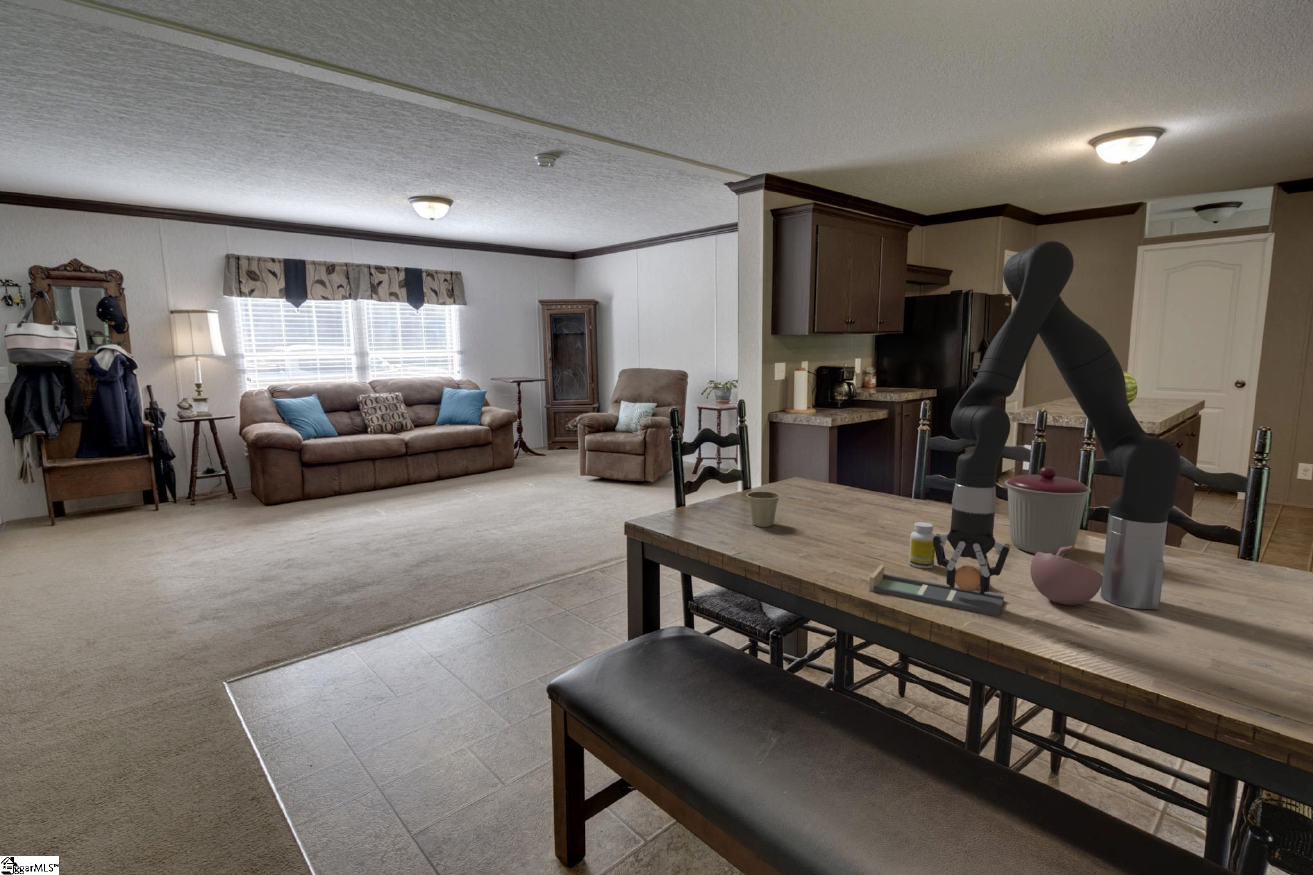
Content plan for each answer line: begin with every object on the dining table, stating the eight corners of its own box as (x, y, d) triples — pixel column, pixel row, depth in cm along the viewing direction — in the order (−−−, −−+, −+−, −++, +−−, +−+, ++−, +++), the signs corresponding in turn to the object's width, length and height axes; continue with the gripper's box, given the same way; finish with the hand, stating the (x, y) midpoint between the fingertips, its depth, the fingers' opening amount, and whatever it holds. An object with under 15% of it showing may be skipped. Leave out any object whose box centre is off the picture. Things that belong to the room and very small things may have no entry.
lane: (1003, 600, 128) (1004, 586, 127) (999, 616, 120) (1000, 601, 120) (880, 577, 141) (880, 564, 140) (869, 590, 133) (869, 576, 133)
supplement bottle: (936, 569, 145) (938, 528, 144) (911, 568, 147) (913, 526, 145) (931, 562, 151) (933, 521, 149) (906, 560, 152) (909, 520, 150)
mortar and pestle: (1111, 606, 125) (1117, 550, 123) (1078, 619, 119) (1084, 560, 117) (1049, 587, 135) (1053, 534, 133) (1015, 598, 129) (1019, 543, 128)
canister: (1065, 567, 147) (1073, 477, 144) (986, 547, 162) (992, 465, 158) (1097, 552, 158) (1105, 468, 155) (1020, 534, 172) (1026, 457, 169)
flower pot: (740, 521, 186) (741, 492, 185) (769, 518, 189) (770, 490, 187) (754, 530, 177) (755, 499, 176) (785, 527, 180) (786, 497, 179)
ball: (982, 588, 128) (984, 565, 127) (979, 597, 124) (981, 572, 123) (955, 583, 131) (957, 560, 130) (951, 591, 126) (953, 567, 126)
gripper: (1016, 508, 124) (1009, 591, 126) (937, 498, 132) (932, 577, 134) (1013, 516, 118) (1006, 604, 120) (930, 505, 125) (925, 588, 128)
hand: (967, 589), depth 127 cm, fingers closed on ball, 5 cm apart
